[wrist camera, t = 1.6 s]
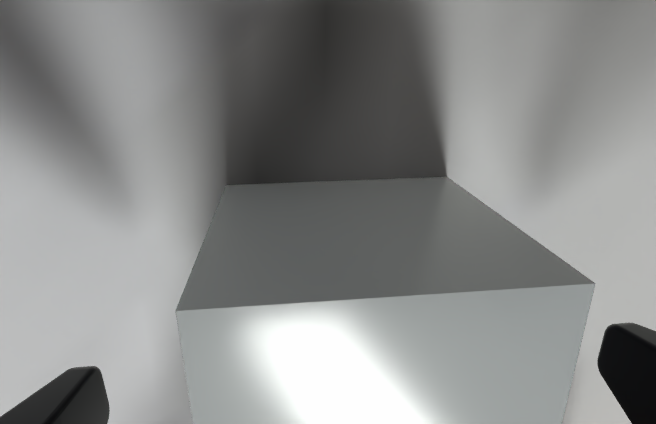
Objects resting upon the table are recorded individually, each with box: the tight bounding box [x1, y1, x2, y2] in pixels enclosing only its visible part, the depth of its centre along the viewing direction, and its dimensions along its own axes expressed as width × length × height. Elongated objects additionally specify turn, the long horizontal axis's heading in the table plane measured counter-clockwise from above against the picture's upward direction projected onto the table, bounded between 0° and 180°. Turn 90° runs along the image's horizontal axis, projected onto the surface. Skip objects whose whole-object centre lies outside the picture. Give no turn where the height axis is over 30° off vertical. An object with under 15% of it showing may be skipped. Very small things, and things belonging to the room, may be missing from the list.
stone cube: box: [176, 177, 595, 424], centre depth 8 cm, size 5×5×5 cm
